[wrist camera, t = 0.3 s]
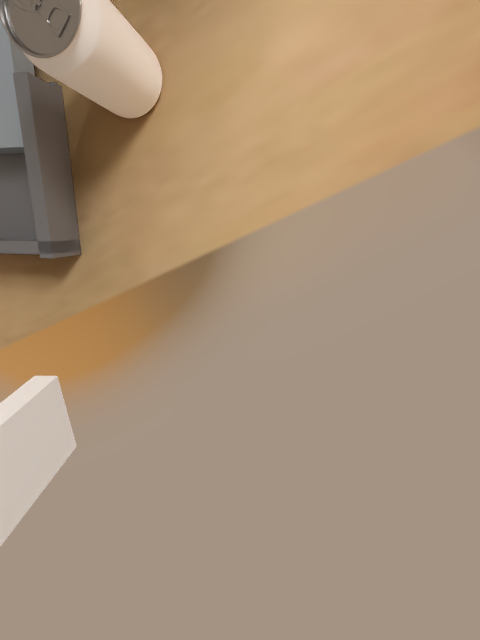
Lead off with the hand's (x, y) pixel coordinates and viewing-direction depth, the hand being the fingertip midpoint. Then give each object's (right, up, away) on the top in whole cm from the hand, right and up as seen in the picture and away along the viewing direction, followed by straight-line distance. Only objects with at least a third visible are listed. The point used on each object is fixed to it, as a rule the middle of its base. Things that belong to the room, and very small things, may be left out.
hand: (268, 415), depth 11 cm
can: (-11, +25, +22) cm, 35 cm away
